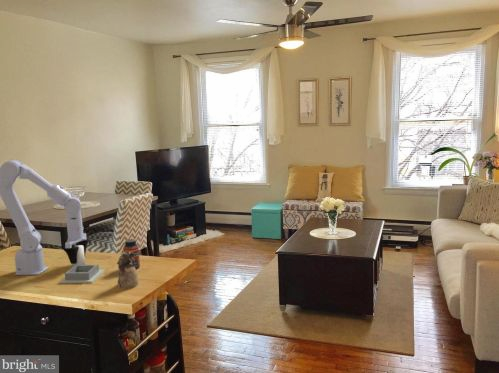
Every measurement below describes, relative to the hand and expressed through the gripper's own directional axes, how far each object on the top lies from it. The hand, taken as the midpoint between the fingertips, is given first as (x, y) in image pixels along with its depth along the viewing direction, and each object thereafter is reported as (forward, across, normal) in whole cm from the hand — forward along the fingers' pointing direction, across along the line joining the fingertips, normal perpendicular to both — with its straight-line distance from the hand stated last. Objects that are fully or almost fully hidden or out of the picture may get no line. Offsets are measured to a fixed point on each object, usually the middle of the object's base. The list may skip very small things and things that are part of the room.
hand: (78, 260), depth 173 cm
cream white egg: (+2, 0, 0) cm, 2 cm away
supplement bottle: (+3, -3, -23) cm, 23 cm away
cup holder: (+2, -12, -7) cm, 14 cm away
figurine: (+3, -20, -27) cm, 34 cm away
